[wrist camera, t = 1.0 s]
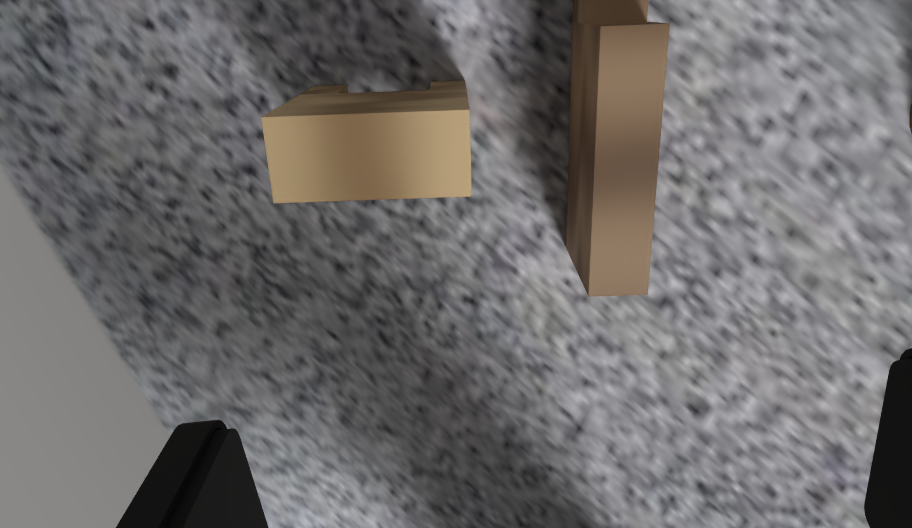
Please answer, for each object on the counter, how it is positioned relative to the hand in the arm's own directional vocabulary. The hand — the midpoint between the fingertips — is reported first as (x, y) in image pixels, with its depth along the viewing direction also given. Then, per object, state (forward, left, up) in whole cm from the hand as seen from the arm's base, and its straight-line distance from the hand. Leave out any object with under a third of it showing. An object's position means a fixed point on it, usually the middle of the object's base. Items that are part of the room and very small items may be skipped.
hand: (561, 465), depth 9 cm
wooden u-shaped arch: (0, +5, -23) cm, 24 cm away
